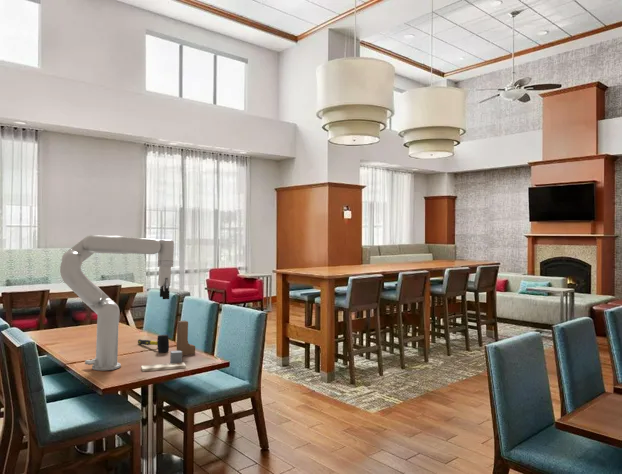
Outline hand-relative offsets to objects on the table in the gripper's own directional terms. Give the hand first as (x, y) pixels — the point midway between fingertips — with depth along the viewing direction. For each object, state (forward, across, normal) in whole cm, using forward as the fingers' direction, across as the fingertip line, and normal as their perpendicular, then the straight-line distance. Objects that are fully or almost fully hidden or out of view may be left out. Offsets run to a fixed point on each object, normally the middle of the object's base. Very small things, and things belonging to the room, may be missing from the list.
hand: (164, 297), depth 244 cm
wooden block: (+32, -13, +14) cm, 38 cm away
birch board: (+32, +12, -1) cm, 34 cm away
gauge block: (+32, +5, +6) cm, 33 cm away
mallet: (+33, -33, -1) cm, 46 cm away
